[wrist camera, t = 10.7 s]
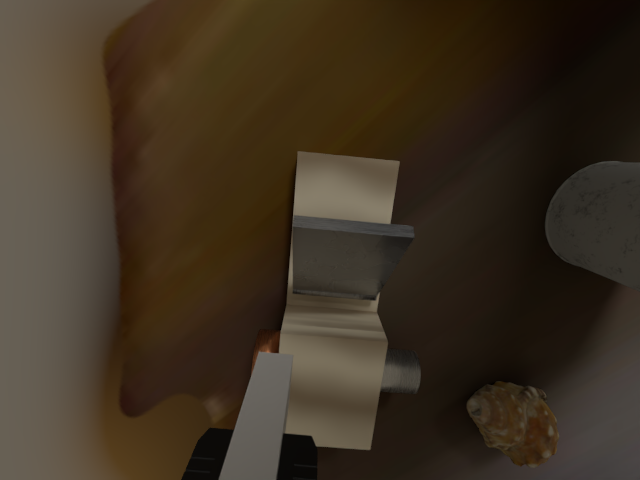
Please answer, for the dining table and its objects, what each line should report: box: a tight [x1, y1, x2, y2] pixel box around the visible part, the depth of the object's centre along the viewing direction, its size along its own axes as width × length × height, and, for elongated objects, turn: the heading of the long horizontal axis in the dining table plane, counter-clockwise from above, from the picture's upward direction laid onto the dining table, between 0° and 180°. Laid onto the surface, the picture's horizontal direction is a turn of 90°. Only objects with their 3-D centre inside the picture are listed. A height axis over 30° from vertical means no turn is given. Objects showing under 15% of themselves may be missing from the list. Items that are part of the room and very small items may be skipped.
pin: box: [251, 329, 421, 394], centre depth 29 cm, size 5×14×5 cm, turn 85°
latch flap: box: [292, 215, 414, 301], centre depth 23 cm, size 11×7×1 cm
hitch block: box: [279, 151, 400, 450], centre depth 27 cm, size 23×8×7 cm, turn 175°
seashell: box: [466, 381, 559, 468], centre depth 31 cm, size 9×8×10 cm
